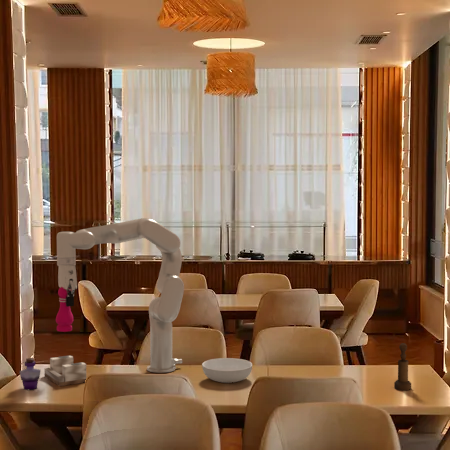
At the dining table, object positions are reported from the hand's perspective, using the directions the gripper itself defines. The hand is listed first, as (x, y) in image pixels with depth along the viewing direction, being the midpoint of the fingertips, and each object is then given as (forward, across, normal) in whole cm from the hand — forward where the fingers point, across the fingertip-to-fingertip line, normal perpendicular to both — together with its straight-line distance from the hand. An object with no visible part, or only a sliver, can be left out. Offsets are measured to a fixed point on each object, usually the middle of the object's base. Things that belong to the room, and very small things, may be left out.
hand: (67, 304), depth 318 cm
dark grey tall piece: (+32, -85, -107) cm, 140 cm away
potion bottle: (+31, -6, +18) cm, 36 cm away
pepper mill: (+11, 0, +1) cm, 11 cm away
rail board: (+31, 0, +1) cm, 31 cm away
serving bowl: (+32, -37, -55) cm, 73 cm away
